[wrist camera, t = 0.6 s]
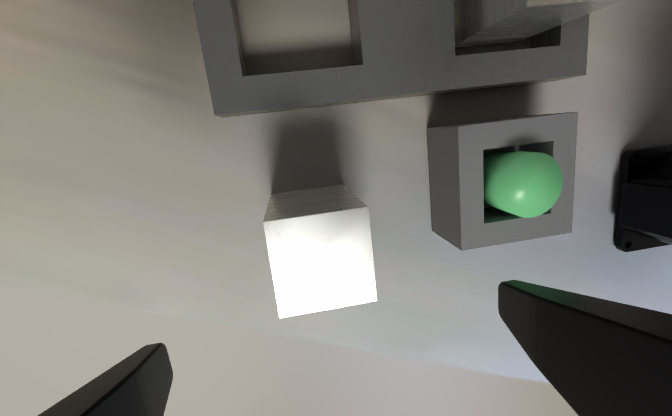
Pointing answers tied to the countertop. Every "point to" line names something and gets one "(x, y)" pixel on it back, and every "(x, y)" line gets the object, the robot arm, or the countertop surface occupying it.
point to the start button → (521, 182)
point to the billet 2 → (514, 18)
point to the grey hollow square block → (468, 188)
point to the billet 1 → (319, 250)
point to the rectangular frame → (381, 59)
